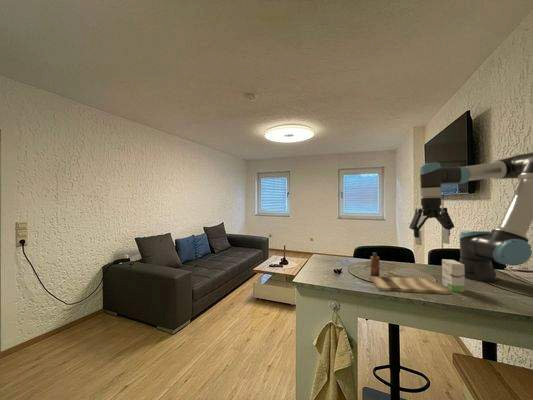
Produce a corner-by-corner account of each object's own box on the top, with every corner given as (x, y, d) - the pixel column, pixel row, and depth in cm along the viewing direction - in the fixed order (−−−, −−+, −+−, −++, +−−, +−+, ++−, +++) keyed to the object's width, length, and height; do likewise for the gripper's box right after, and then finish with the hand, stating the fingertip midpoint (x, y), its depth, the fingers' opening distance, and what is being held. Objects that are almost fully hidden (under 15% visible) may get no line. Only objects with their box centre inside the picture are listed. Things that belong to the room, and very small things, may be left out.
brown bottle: (377, 275, 117) (377, 252, 117) (380, 277, 113) (380, 254, 114) (369, 274, 118) (369, 251, 118) (372, 277, 114) (371, 253, 114)
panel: (431, 281, 108) (431, 278, 108) (450, 293, 94) (450, 290, 94) (369, 278, 112) (369, 275, 112) (378, 290, 98) (378, 287, 98)
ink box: (465, 292, 95) (465, 264, 95) (451, 291, 96) (451, 263, 96) (454, 285, 103) (453, 259, 103) (441, 284, 105) (441, 258, 105)
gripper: (448, 196, 108) (449, 241, 108) (399, 198, 105) (401, 243, 105) (463, 196, 100) (465, 244, 100) (411, 197, 97) (413, 247, 97)
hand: (432, 244), depth 103 cm, fingers open, 13 cm apart
